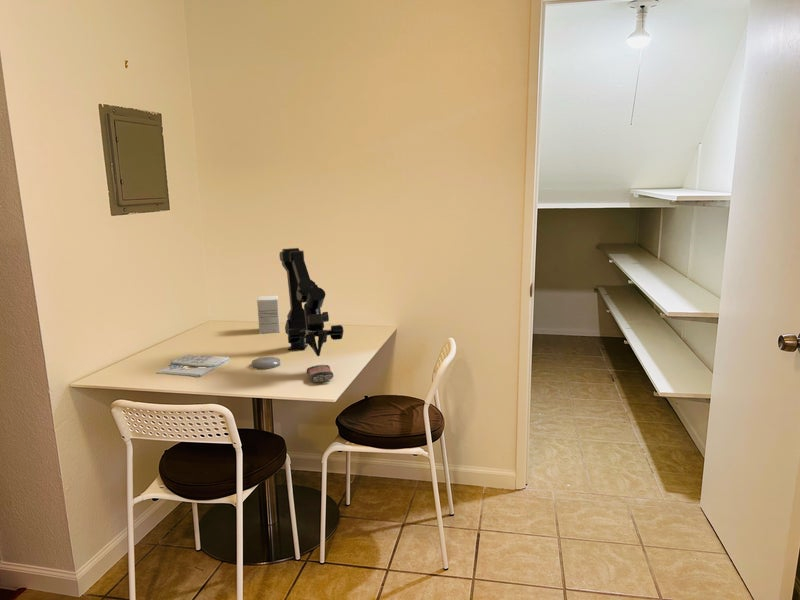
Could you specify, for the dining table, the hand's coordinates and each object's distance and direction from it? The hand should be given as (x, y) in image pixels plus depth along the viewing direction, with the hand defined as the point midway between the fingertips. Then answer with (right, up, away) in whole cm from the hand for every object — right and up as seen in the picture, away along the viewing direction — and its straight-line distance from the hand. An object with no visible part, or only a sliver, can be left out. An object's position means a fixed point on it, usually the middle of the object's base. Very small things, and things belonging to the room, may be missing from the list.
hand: (318, 355), depth 202 cm
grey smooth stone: (-21, -5, +14) cm, 26 cm away
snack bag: (-47, -6, +14) cm, 49 cm away
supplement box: (-30, +5, +63) cm, 70 cm away
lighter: (0, -5, +2) cm, 6 cm away
